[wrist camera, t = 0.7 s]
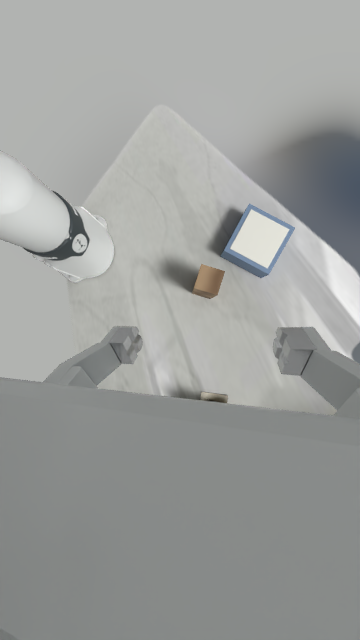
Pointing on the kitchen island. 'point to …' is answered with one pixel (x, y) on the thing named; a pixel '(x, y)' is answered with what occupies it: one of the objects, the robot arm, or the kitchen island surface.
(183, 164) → the kitchen island surface
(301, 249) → the kitchen island surface
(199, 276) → the walnut block
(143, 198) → the kitchen island surface
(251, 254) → the pedestal
